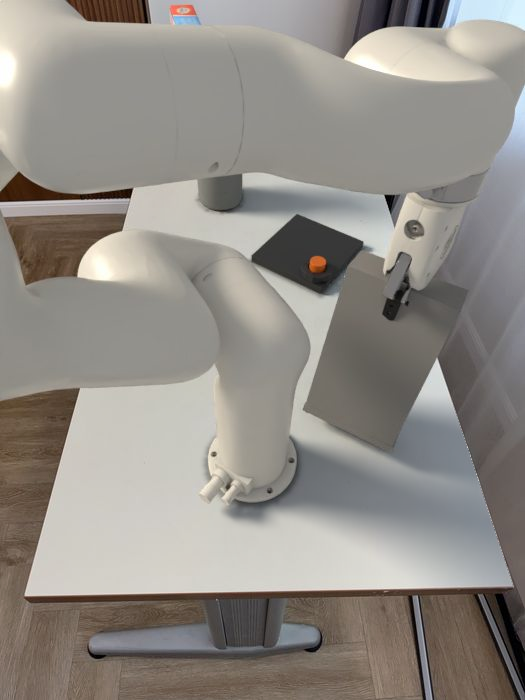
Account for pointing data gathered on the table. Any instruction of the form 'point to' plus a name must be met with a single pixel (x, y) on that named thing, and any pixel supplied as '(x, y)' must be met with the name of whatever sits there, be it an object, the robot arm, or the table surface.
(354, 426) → the grey tall block
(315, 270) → the tare button
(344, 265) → the scale
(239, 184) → the water bottle
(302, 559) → the table surface
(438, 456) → the table surface
